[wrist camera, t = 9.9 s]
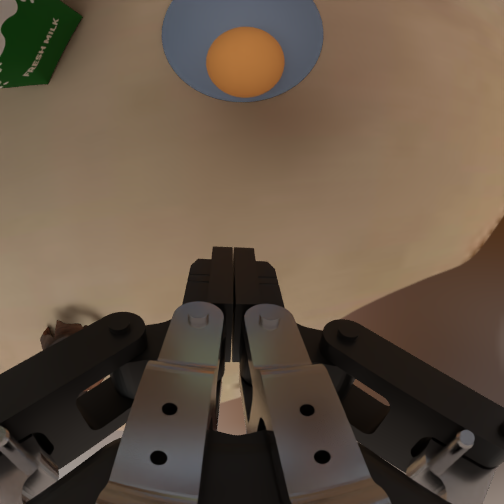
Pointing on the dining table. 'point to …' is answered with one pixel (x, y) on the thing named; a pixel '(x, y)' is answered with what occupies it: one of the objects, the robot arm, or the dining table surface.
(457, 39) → the dining table surface
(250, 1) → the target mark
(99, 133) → the dining table surface
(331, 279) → the dining table surface
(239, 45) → the ball
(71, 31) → the milk carton
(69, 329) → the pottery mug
